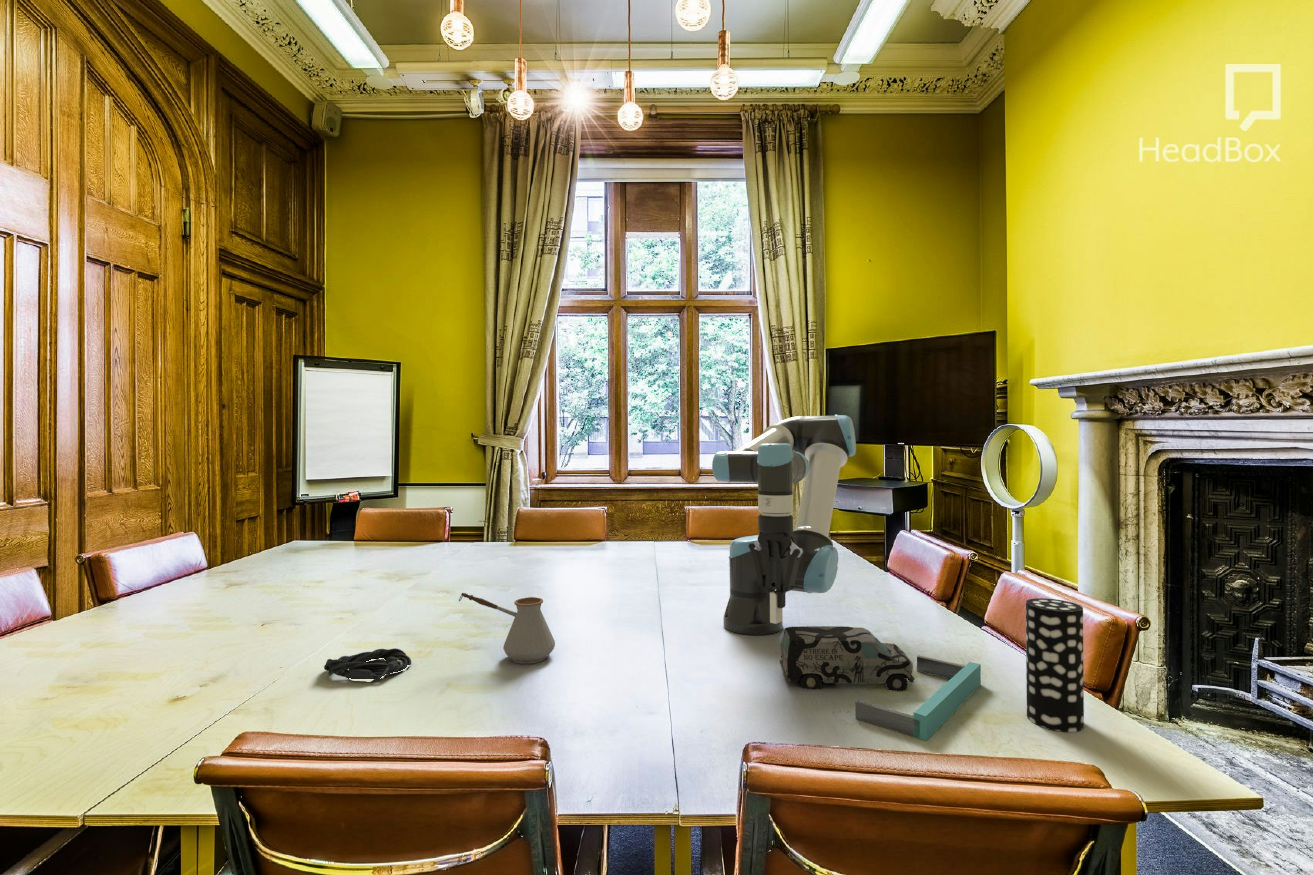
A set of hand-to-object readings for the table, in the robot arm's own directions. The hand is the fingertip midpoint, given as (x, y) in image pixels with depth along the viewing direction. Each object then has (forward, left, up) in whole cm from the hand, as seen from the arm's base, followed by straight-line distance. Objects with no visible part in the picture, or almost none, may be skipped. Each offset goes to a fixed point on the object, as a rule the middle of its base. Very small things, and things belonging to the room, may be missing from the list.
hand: (776, 621), depth 137 cm
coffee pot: (-47, -37, -9) cm, 61 cm away
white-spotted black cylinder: (+51, +7, -9) cm, 52 cm away
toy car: (+16, 0, -9) cm, 18 cm away
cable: (-64, -61, -9) cm, 89 cm away
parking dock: (+32, 0, -9) cm, 33 cm away
